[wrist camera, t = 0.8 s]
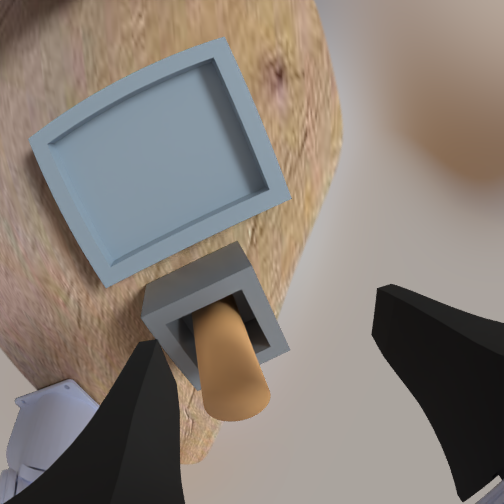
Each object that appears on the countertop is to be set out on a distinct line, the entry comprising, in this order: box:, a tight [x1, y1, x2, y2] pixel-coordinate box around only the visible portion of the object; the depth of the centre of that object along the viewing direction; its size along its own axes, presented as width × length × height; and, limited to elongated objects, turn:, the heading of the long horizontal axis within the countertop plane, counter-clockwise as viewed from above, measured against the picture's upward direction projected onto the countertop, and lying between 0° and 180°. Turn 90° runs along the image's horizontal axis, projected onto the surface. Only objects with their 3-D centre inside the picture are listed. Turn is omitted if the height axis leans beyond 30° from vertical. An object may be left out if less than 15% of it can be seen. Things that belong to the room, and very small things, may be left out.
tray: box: [28, 37, 292, 288], centre depth 15 cm, size 12×10×2 cm
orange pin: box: [192, 294, 270, 421], centre depth 16 cm, size 3×3×8 cm
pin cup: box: [141, 241, 290, 391], centre depth 18 cm, size 7×7×4 cm
